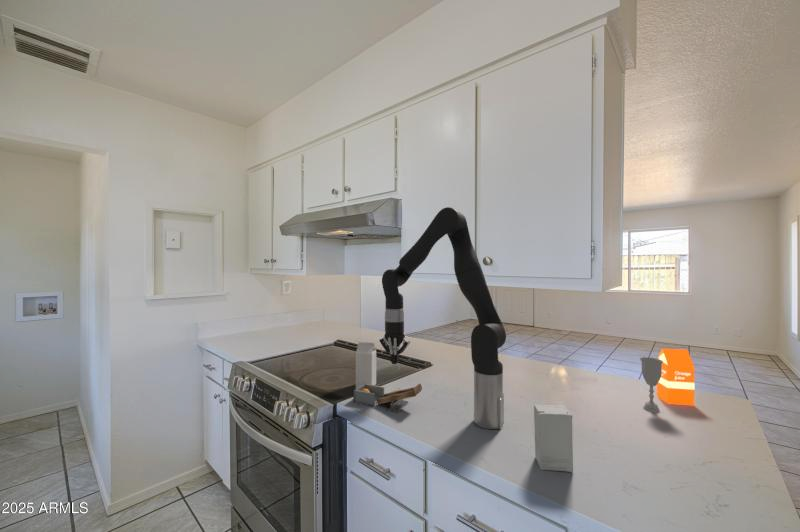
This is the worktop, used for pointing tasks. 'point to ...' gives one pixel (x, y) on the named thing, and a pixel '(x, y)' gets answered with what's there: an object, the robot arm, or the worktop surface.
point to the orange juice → (676, 377)
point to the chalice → (651, 379)
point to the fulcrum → (396, 405)
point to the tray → (368, 394)
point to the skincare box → (553, 437)
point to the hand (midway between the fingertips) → (394, 363)
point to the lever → (400, 394)
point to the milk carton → (365, 364)
